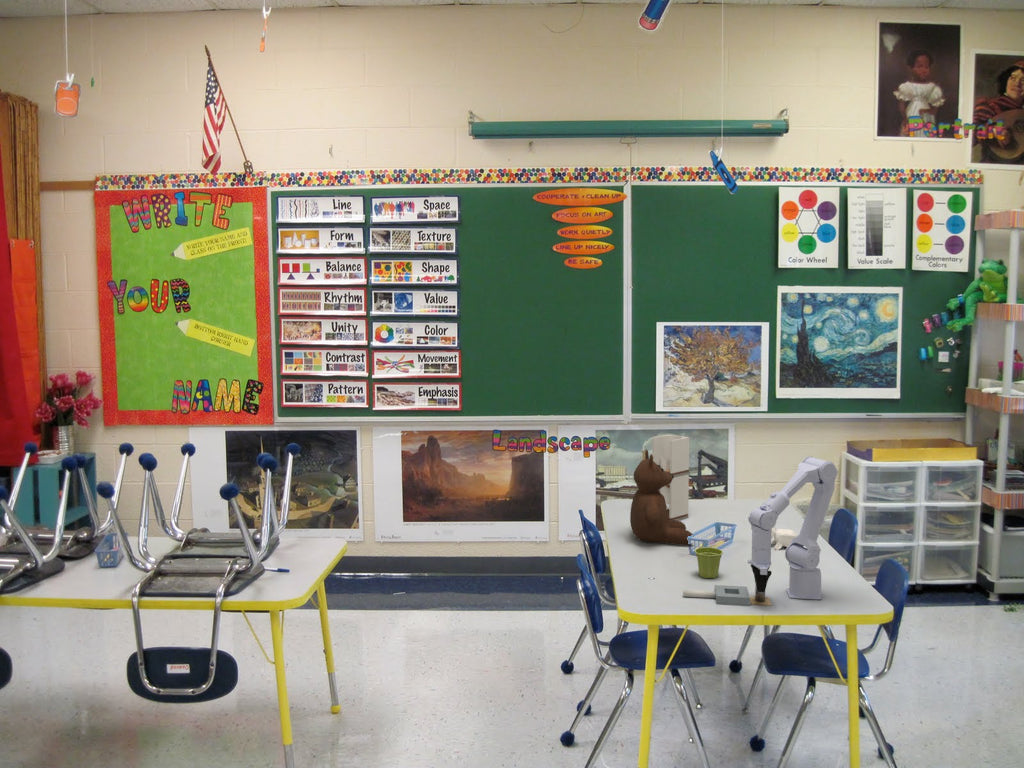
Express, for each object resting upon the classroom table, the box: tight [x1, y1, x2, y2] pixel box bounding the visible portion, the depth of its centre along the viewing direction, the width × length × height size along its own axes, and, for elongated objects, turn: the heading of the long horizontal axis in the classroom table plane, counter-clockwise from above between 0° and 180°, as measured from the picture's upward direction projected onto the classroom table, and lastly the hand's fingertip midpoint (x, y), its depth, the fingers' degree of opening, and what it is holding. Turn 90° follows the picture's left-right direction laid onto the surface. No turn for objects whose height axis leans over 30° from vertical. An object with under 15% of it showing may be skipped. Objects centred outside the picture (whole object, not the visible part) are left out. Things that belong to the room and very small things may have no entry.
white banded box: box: [651, 433, 690, 522], centre depth 356 cm, size 11×11×35 cm
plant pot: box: [694, 546, 724, 579], centre depth 285 cm, size 9×9×9 cm
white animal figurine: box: [771, 526, 799, 551], centre depth 317 cm, size 9×8×15 cm
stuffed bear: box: [629, 449, 694, 546], centre depth 325 cm, size 29×23×35 cm
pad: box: [749, 595, 772, 607], centre depth 262 cm, size 6×6×1 cm
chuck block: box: [682, 584, 751, 607], centre depth 265 cm, size 20×10×2 cm, turn 80°
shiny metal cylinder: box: [754, 585, 766, 602], centre depth 261 cm, size 3×3×8 cm
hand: (760, 589), depth 261 cm, fingers closed on shiny metal cylinder, 3 cm apart
